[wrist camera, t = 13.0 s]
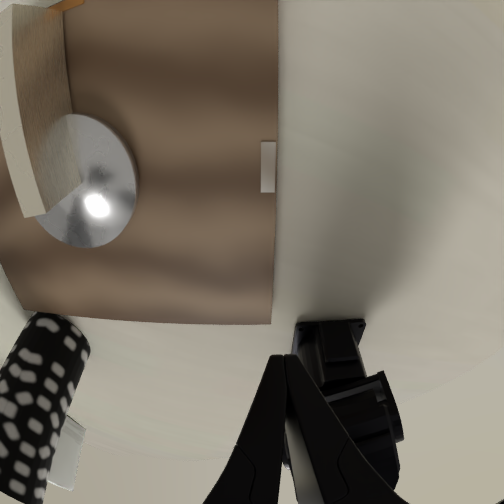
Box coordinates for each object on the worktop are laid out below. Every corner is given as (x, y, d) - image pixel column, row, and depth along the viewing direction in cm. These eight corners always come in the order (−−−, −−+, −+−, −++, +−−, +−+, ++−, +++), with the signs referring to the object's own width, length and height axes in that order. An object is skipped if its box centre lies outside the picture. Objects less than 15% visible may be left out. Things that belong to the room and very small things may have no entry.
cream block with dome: (153, 235, 18) (129, 283, 14) (51, 246, 19) (18, 286, 15) (114, -11, 9) (70, -32, 5) (4, 45, 10) (-45, 51, 6)
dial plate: (269, 311, 24) (271, 325, 23) (30, 300, 24) (23, 310, 23) (274, -30, 11) (277, -40, 9) (-31, 63, 11) (-44, 65, 9)
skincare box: (44, 407, 41) (23, 469, 28) (64, 411, 41) (44, 479, 28) (67, 426, 46) (51, 484, 33) (88, 431, 45) (73, 493, 32)
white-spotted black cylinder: (104, 352, 28) (56, 517, 12) (67, 363, 30) (23, 497, 14) (50, 301, 24) (-29, 473, 7) (21, 320, 26) (-43, 457, 10)
